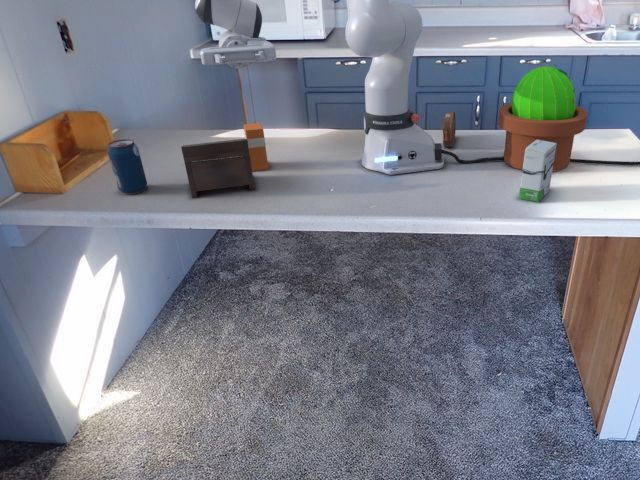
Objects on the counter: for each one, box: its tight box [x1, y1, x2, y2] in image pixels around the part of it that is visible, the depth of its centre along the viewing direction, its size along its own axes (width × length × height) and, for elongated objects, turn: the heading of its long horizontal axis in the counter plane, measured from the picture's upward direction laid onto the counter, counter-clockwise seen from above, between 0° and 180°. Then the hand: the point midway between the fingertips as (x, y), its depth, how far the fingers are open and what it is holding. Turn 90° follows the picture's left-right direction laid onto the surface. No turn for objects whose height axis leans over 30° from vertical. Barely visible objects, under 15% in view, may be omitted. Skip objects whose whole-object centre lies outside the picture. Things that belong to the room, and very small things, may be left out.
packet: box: [243, 122, 269, 172], centre depth 146 cm, size 4×6×11 cm
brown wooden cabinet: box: [180, 138, 256, 199], centre depth 134 cm, size 15×10×12 cm, turn 107°
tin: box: [442, 110, 456, 148], centre depth 161 cm, size 15×3×8 cm, turn 168°
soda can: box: [106, 138, 148, 195], centre depth 133 cm, size 7×7×12 cm
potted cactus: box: [497, 63, 589, 172], centre depth 141 cm, size 22×22×25 cm
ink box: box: [518, 140, 557, 203], centre depth 126 cm, size 9×5×12 cm, turn 148°
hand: (241, 59), depth 144 cm, fingers open, 8 cm apart
